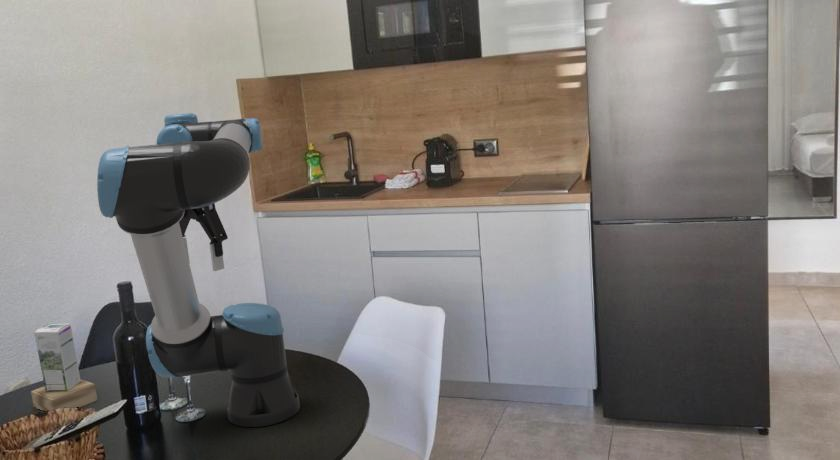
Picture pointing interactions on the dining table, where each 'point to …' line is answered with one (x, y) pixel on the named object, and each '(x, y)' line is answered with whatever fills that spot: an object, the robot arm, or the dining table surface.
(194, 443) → the dining table surface
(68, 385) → the syrup box
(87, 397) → the oak riser block
